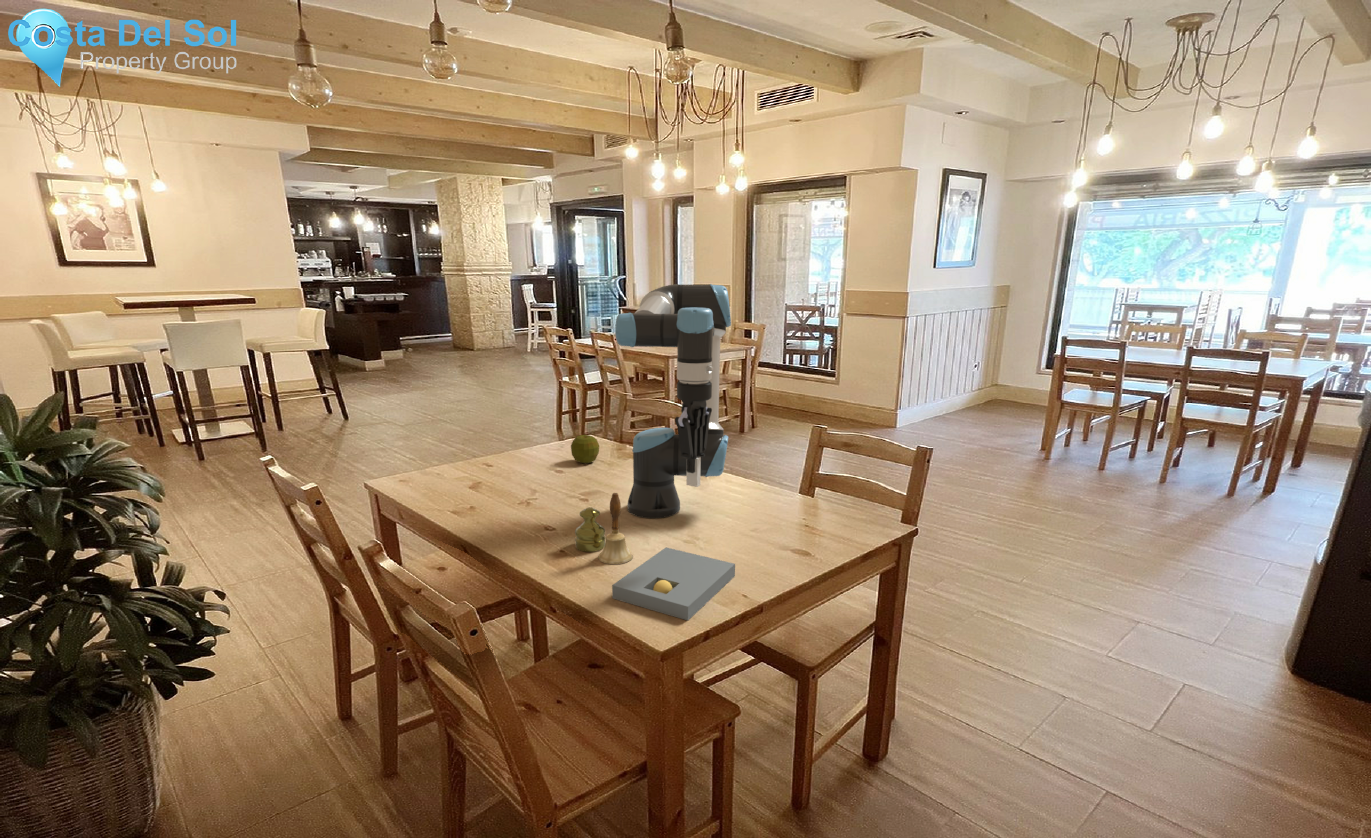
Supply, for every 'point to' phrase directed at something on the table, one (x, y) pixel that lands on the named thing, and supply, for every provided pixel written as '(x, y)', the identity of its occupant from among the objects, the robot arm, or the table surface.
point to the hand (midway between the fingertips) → (693, 485)
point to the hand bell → (615, 538)
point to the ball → (662, 586)
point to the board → (674, 582)
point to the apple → (585, 448)
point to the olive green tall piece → (590, 532)
